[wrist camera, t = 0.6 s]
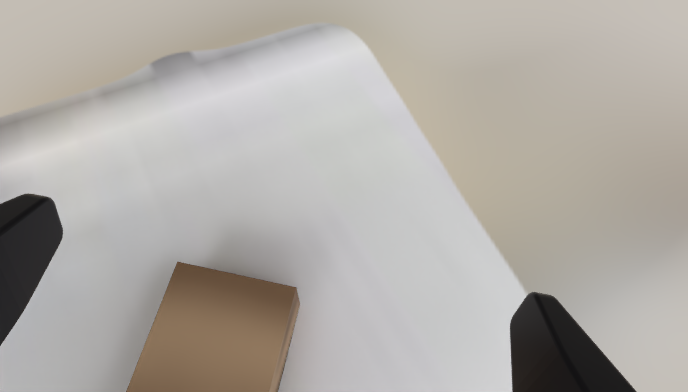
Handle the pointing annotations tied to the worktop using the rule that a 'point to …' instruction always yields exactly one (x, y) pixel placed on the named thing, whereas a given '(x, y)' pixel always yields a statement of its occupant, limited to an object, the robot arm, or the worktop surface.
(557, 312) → the robot arm
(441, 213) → the worktop surface
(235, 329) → the link
